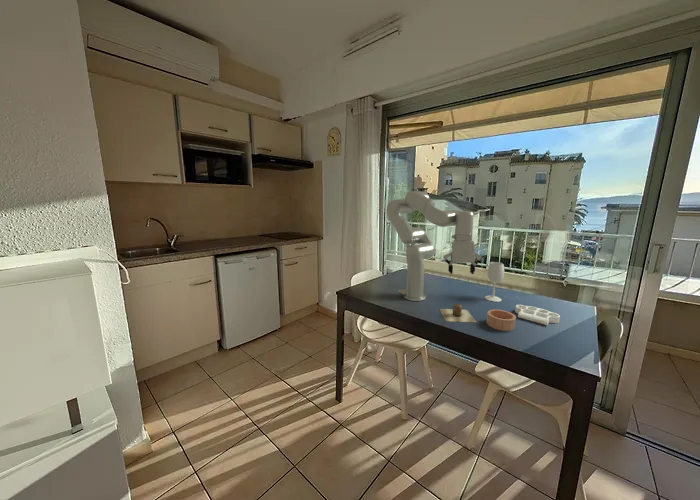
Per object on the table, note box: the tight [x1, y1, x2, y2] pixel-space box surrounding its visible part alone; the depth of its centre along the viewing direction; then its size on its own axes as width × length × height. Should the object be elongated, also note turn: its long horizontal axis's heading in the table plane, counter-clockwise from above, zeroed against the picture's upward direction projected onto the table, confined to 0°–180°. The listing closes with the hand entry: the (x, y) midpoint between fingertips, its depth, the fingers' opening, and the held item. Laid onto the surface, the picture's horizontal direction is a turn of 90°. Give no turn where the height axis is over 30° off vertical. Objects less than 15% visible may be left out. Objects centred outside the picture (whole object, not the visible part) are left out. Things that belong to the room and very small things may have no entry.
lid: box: [439, 303, 477, 324], centre depth 130 cm, size 14×14×6 cm
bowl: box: [486, 308, 517, 332], centre depth 121 cm, size 11×11×5 cm
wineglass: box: [484, 261, 505, 303], centre depth 149 cm, size 9×9×21 cm
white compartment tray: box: [514, 304, 561, 326], centre depth 128 cm, size 3×18×15 cm
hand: (461, 273), depth 127 cm, fingers open, 9 cm apart
